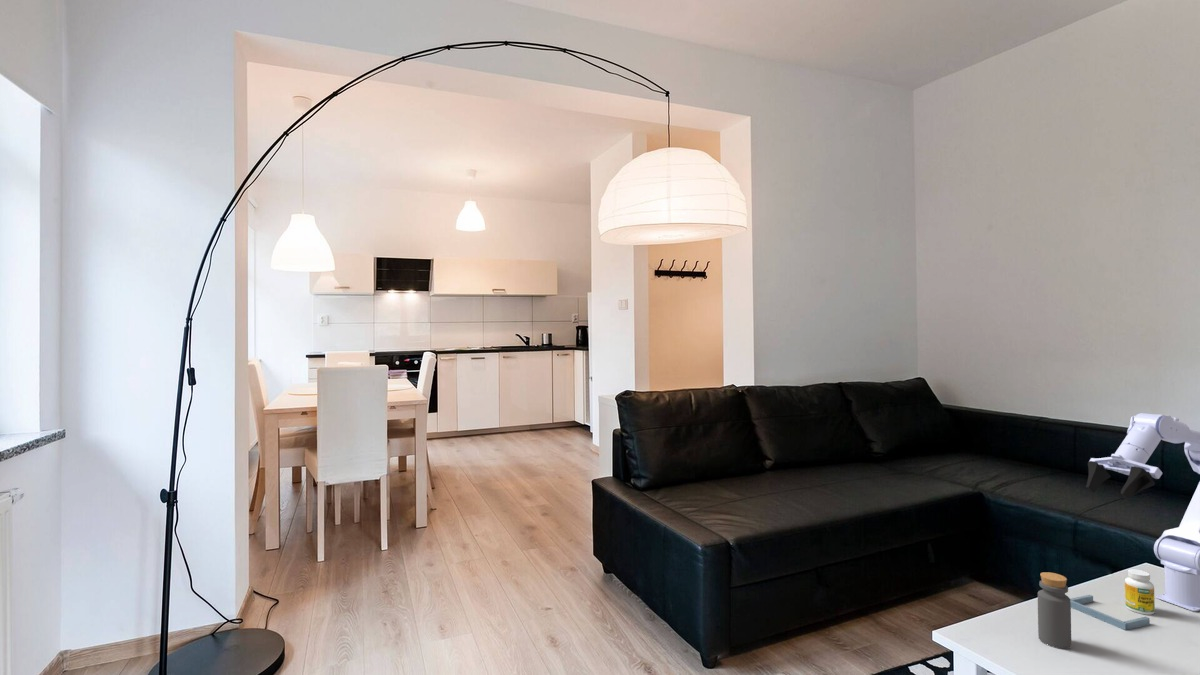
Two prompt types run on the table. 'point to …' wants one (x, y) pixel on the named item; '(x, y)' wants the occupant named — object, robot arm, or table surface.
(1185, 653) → the table surface
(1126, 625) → the blue-grey u-shaped bracket
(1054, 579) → the bottle
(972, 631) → the table surface
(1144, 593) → the supplement bottle
